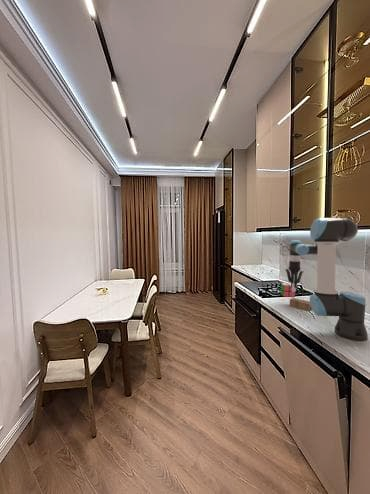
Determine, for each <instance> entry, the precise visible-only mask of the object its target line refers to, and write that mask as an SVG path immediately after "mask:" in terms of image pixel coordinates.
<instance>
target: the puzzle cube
mask: <svg viewBox="0 0 370 494" xmlns="http://www.w3.org/2000/svg"><path fill="white" fill-rule="evenodd" d="M280 294H281V296H282V297H287V298H295V297H296V291H295V292H292V287H291V282H288V283H287V282H280Z"/></svg>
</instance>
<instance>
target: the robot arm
mask: <svg viewBox="0 0 370 494" xmlns="http://www.w3.org/2000/svg"><path fill="white" fill-rule="evenodd" d="M358 231H359V229H358V225H357V223H356V222H355V221H354V220H352V219H351V218H347V217H320V218H319V217H318V218H316V219H314V221H313V222H312V224H311V227H310V232H309V233H310V238H311V239H312V240H314V243H302V241H301V240H298V239H297V240H296V239H292V240H290V242H289V257H288V259H289V262H288V264H289V265H288V267H287V268H285V272H286V275H287V280H288V283H291V287H292V292H295V293H296V291H297V289H296V288H298V284H299V283H300V282H301V279H302V275H303V273H304V270H302V269H301V256H306V255H316V256H317V261H316V263H317V265H316V266H317V272H316V273H317V274H316V275H317V276H316V278H317V279H316V281H317V282H316V284H317V285H316V286H317V287H316V288H315V289H314V291H313V294H311V295H310V296H309V301H310V305H311V308H312V310H311V311H312V312H313V313H314V314H315V315H316V316H319V317H320V316H321V317H338V319H337V322H336V324H335V326H334V333H335V334H336V335H338V336H339V337H342V338H344V339H347V340H352V341H359V342H361V341H366V340H368V336H369V335H368V334H369V333H368V331H367V327H366V325H365V320H366V317H365V316H366V298H365V296H364V295H361V294H358V293H355V292H351V291H350V292H349V291H340V293H339V292H338V290H337V289H336V247H337V246H338V245H339V244H342V243H344V242H348V241H350V240H352V239H354V238H355V237H356V236H357V234H358Z"/></svg>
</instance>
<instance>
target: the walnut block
mask: <svg viewBox="0 0 370 494" xmlns="http://www.w3.org/2000/svg"><path fill="white" fill-rule="evenodd" d="M288 305H289V307H292V308H295V309H300V310H303V311H307V312H310V311H313V310H312V308H311V305H310V300H304V299H299V298H295V297H292V298H290V299H289V304H288Z"/></svg>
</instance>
